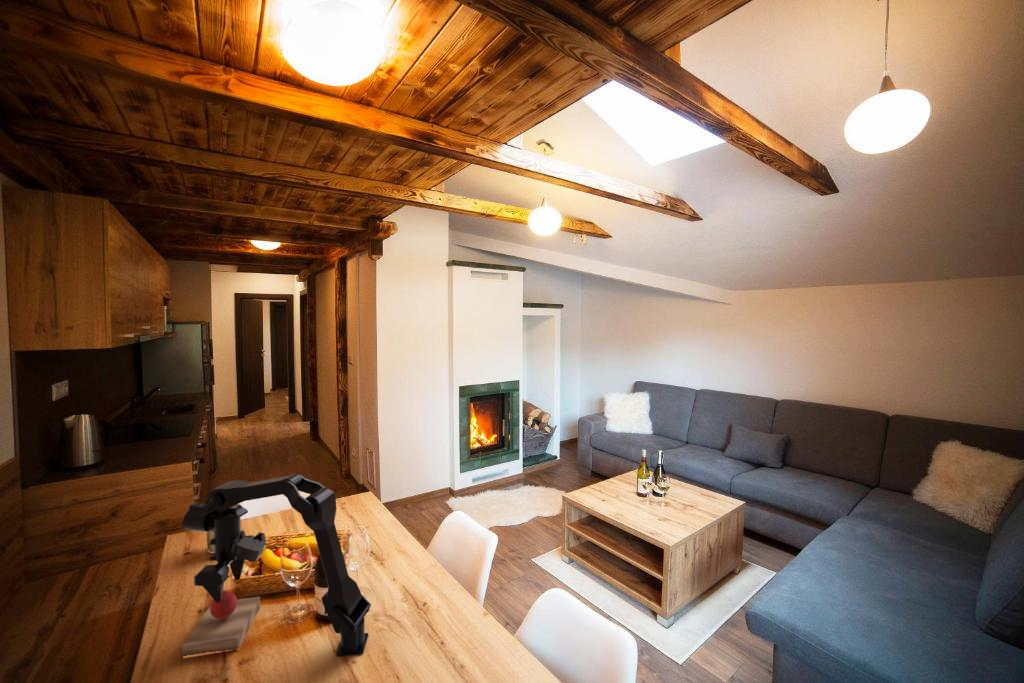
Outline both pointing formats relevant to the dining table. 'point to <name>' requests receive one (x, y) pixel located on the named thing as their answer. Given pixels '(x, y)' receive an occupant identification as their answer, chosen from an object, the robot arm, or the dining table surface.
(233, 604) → the onion
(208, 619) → the grey flat block
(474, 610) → the dining table surface
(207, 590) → the robot arm
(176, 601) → the dining table surface
